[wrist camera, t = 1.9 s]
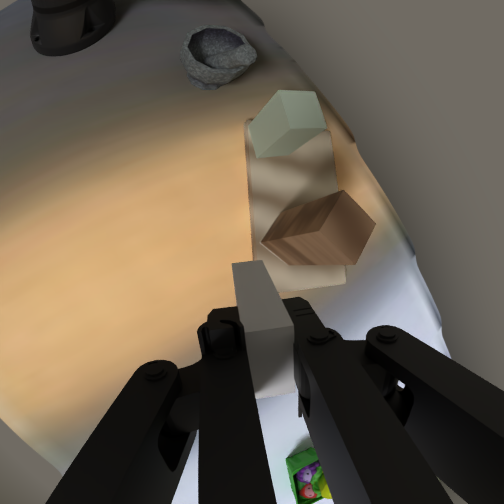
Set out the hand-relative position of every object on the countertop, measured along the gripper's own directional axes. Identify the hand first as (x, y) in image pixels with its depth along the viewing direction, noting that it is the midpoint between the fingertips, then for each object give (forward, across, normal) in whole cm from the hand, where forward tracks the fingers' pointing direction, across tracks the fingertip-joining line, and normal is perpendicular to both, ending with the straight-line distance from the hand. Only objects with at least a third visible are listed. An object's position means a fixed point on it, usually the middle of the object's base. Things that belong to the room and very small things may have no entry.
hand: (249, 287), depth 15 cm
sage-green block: (+28, +6, +10) cm, 30 cm away
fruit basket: (+15, +7, -43) cm, 46 cm away
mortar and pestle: (+31, -1, +21) cm, 37 cm away
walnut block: (+24, +7, -4) cm, 25 cm away
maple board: (+28, +9, 0) cm, 29 cm away
